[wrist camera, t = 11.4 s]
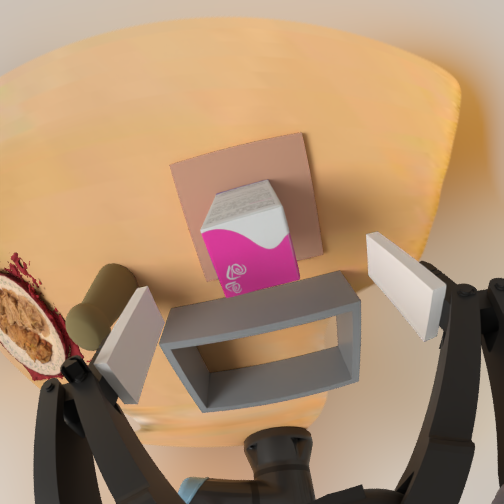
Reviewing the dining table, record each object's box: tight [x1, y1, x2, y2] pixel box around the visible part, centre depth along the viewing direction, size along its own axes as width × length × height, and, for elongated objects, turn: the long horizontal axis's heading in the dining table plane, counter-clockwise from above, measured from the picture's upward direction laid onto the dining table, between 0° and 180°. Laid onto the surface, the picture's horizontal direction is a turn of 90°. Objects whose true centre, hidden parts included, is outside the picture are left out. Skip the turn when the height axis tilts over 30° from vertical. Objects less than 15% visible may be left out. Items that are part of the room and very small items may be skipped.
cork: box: [66, 264, 138, 351], centre depth 27 cm, size 6×6×11 cm
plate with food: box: [0, 253, 91, 381], centre depth 34 cm, size 25×26×4 cm
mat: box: [170, 133, 323, 282], centre depth 29 cm, size 14×14×1 cm
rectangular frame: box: [159, 270, 361, 413], centre depth 33 cm, size 14×22×7 cm, turn 103°
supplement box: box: [200, 179, 300, 298], centre depth 23 cm, size 6×6×12 cm
